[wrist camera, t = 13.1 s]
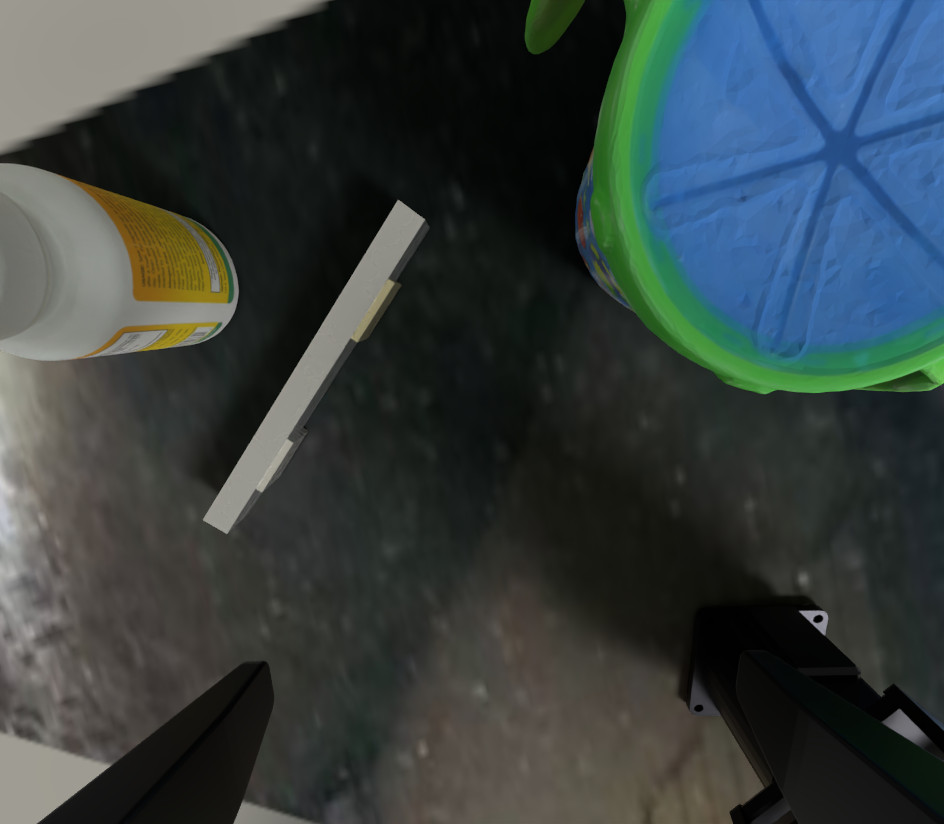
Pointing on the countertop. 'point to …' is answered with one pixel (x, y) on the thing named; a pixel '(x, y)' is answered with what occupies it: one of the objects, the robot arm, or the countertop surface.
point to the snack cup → (773, 186)
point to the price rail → (320, 365)
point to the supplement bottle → (103, 271)
